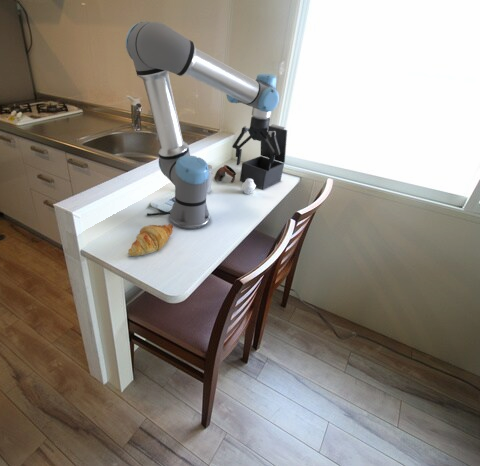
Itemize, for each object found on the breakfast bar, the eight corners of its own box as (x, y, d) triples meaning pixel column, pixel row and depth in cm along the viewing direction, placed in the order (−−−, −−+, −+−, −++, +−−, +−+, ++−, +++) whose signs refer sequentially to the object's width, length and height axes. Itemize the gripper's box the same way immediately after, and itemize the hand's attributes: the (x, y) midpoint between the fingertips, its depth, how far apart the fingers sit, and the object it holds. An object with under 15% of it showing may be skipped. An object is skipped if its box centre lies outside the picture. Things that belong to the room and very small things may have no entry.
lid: (286, 130, 143) (292, 126, 146) (260, 124, 151) (267, 120, 154) (284, 163, 155) (289, 158, 157) (260, 155, 162) (266, 150, 165)
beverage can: (197, 187, 149) (199, 163, 142) (211, 189, 148) (213, 164, 142) (195, 193, 144) (197, 168, 137) (210, 195, 143) (212, 169, 136)
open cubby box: (262, 189, 150) (266, 171, 145) (239, 180, 158) (242, 162, 153) (280, 181, 160) (284, 163, 155) (257, 173, 168) (260, 155, 163)
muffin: (256, 195, 145) (259, 180, 142) (244, 196, 144) (246, 181, 140) (250, 189, 150) (253, 175, 146) (238, 190, 149) (240, 176, 145)
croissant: (136, 270, 102) (144, 257, 96) (115, 248, 103) (121, 234, 98) (177, 240, 116) (185, 227, 111) (158, 221, 118) (165, 207, 112)
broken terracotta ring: (216, 175, 164) (226, 162, 160) (230, 187, 162) (240, 175, 158) (207, 177, 153) (217, 163, 149) (221, 190, 151) (232, 176, 148)
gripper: (293, 119, 128) (283, 169, 139) (234, 111, 136) (228, 159, 148) (290, 123, 122) (279, 175, 133) (228, 114, 130) (223, 164, 142)
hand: (253, 167), depth 140 cm, fingers open, 13 cm apart
